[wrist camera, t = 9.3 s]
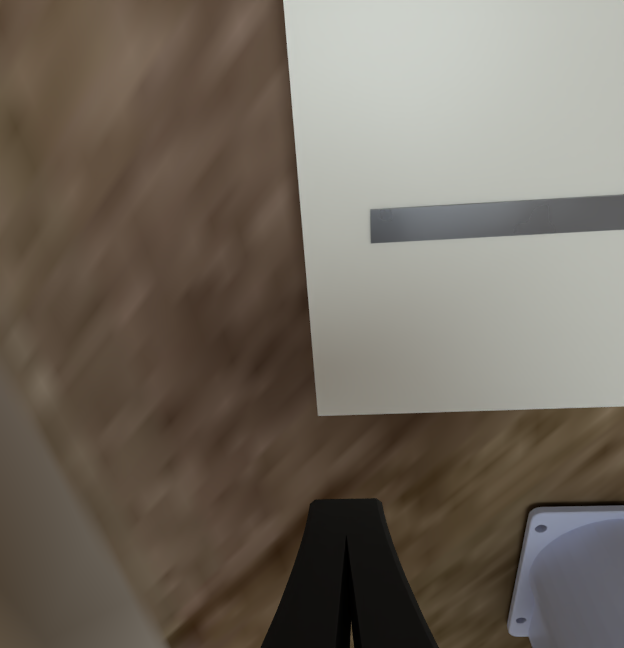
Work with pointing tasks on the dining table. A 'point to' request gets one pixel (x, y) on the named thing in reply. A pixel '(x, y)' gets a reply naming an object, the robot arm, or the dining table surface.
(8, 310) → the dining table surface
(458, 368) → the dimmer panel
